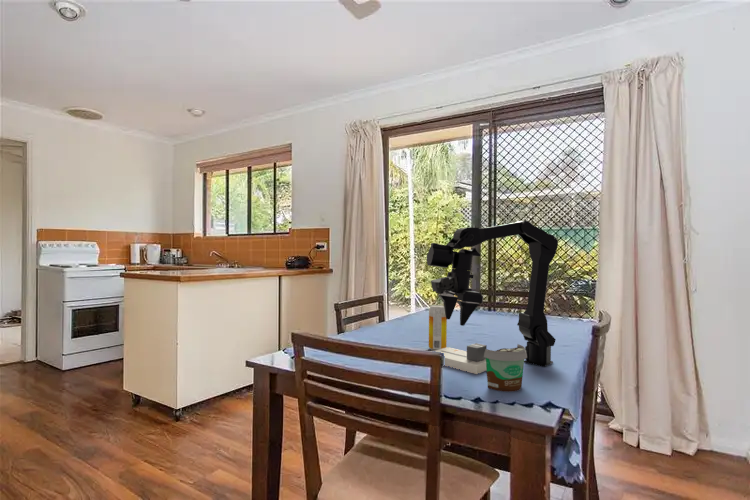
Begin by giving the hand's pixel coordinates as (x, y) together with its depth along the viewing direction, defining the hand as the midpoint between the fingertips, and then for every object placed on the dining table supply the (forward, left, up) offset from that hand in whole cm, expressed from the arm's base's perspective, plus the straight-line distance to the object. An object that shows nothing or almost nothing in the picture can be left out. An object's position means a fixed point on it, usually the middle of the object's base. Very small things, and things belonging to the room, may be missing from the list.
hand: (454, 322), depth 120 cm
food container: (-20, +5, -14) cm, 25 cm away
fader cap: (-5, -4, -11) cm, 13 cm away
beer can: (+16, -12, -14) cm, 24 cm away
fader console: (+1, -4, -13) cm, 14 cm away
